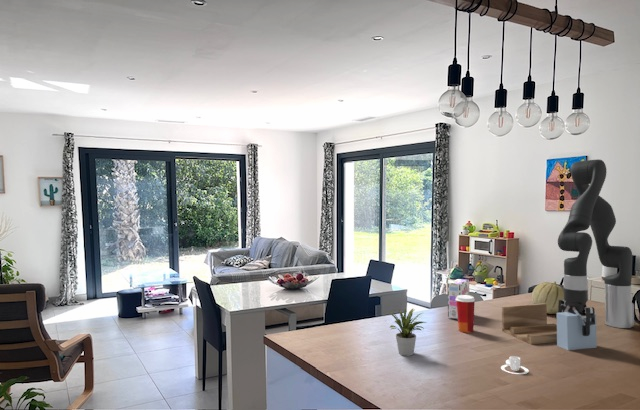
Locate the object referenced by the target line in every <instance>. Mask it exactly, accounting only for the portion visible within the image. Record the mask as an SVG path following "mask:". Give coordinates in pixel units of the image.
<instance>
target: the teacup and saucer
mask: <svg viewBox="0 0 640 410" xmlns="http://www.w3.org/2000/svg"><path fill="white" fill-rule="evenodd" d="M507 367H510V370H512V371H514V372H512V371H508V370H506V368H507ZM520 368H521V369H523V372H518V371H520ZM500 369H501V370H502V371H503V372H506V373H509V374H510V375H511V374H512V375H526V374H528V373H529V372H530V370H529V369H528V368H526V367H525V366H523V365H521V357H519V356H515V355H511V356H509V358H508V359H506V360H505V364H503V365H501V366H500Z"/></svg>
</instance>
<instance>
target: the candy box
mask: <svg viewBox="0 0 640 410" xmlns="http://www.w3.org/2000/svg"><path fill="white" fill-rule="evenodd" d="M458 295H469V296H470V279H463V278H457V279H455V280H452V281H450V282H448V283H447V319H450V320H456V321H458V314H457V301H456V300H455V299H456V297H457V296H458Z"/></svg>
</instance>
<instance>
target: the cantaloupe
mask: <svg viewBox="0 0 640 410" xmlns="http://www.w3.org/2000/svg"><path fill="white" fill-rule="evenodd" d="M531 300H532V303H533V304H544V303H545V304H547V314H549V315H553V314H554V315H555V314H556V315H557V313H558V306H559V300H565V299H564V287H562V286H560V285H559V284H557V282H556V281H554V282H550V281H543V282H541V283H539V284H537V285H535V287H534V288H533V290H532V294H531ZM562 312H563V310H562Z"/></svg>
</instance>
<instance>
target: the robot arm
mask: <svg viewBox="0 0 640 410" xmlns="http://www.w3.org/2000/svg"><path fill="white" fill-rule="evenodd" d="M570 165H571V166H570V175H571V180H572V181H573V185H574V186H575V189H576V190H577V191H576V192H578V196H579V197H577V198H576V199H575V201H574V203H573V204H572V205H571V208H570V210H569V214H568V215H569V216H568V219H567V222H566V224H565V226H564V227H563V228H562V230H561V232H560V234H559V235H558V238H557V246H558V248H559V249H560V250H561V251H563V252H576V253H578V255H576V257H567V258H565V259H564V261H563V281H562V282H563V287H562V288H563V289H564V299H565V300H559V306H558V313H561V312H570V313H573V314H576V315H577V317H578V319H579V320H581V322H582V324H583V325H582V335H583V336H589V335H590V325H595V314H596V313H595V308H594V307H593V306H592V307H588V305H587V303H588V301H589V286H588V285H589V283H588V275H587V274H588V272H587V271H588V270H587V268H588V267H587V264H588V260H589V255H590V252H591V248H592V246H593V238H594V241H595V245H596V250H597V255H598V258H599V261H600V262H599V263H601V265H602V266H603V267H606V268H614V269H619V271H618V272H617V273H615V274H611V275H606V276H605V277H604V282H603V283H604V284H603V285H604V320H605V321H604V323H605V325H607V326H609V327H612V328H619V329H631V328H632V327H635V310H634V309H635V308H634V303H633V302H632V278H633V252H632V249H631V248H630V247H628V246H624V245H623V246H621V245H610V243H609V236H610V235H611V233H612V231H613V230H614V229H615V226H616V224H617V223H616V222H617V220H616V215H615V213H614V209H613V207H612V205H611V204H610V202H608V201H607V200H606V199H604V198H603V197H602V196H601V195H600V193H601V191H602V188H603V185H604V183H605V181H606V178H607V166H606V163H605V162H604V161H603V160H602V159H588V160H581V161H575V162H573V163H572V164H570ZM589 228H591V232H592V234H593V238H592V236H591V235H590V234H589V233H588V232H584V231H586V230H588V229H589ZM562 310H563V311H562ZM581 315H584V316H581ZM590 318H591V321H590ZM584 319H585V320H586V322H585V320H584Z"/></svg>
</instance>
